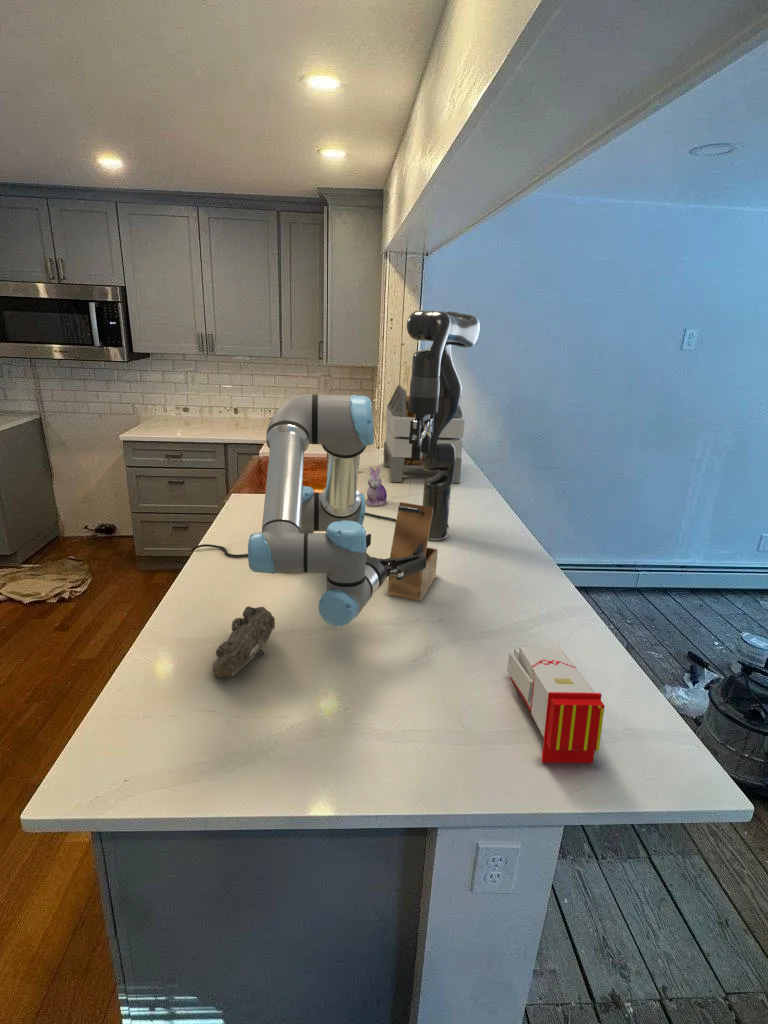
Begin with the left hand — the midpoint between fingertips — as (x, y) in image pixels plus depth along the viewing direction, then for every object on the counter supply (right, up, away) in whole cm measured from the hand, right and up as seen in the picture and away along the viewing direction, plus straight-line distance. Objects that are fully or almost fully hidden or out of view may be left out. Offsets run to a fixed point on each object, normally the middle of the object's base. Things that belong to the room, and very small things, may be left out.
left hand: (395, 543), depth 140 cm
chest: (+5, -13, +23) cm, 28 cm away
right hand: (+7, +22, +10) cm, 25 cm away
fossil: (-34, -24, -12) cm, 43 cm away
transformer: (+14, +27, +135) cm, 139 cm away
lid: (+5, +1, +14) cm, 15 cm away
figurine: (-6, +11, +90) cm, 91 cm away
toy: (+29, -32, -26) cm, 51 cm away
